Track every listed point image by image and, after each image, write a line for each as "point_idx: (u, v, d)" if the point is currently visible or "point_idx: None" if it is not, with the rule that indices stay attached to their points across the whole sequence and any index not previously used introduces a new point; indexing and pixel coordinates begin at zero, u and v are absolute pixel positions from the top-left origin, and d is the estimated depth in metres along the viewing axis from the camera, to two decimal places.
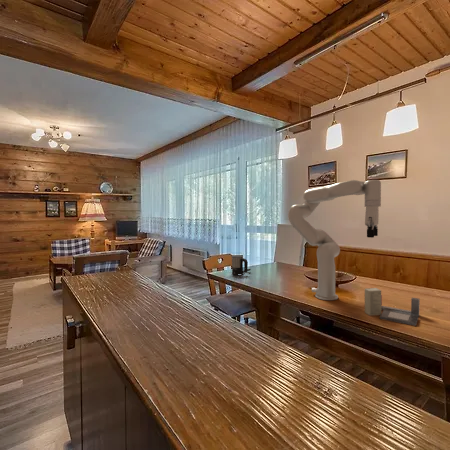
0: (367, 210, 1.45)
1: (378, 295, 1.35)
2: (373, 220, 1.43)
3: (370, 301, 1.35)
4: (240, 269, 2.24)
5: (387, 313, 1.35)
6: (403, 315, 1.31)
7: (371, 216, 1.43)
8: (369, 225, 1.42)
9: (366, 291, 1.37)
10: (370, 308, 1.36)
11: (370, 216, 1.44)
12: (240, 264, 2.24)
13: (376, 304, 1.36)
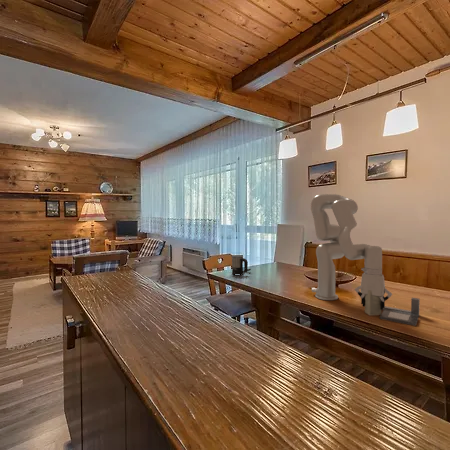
0: (383, 280, 1.33)
1: None
2: None
3: (370, 301, 1.35)
4: (240, 269, 2.24)
5: (387, 313, 1.35)
6: (403, 315, 1.31)
7: (384, 285, 1.35)
8: None
9: None
10: (370, 308, 1.36)
11: (384, 286, 1.34)
12: (240, 264, 2.24)
13: (376, 304, 1.36)
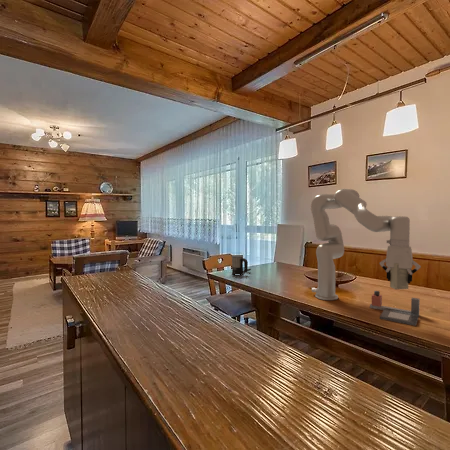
0: (411, 251, 1.25)
1: None
2: None
3: (397, 274, 1.28)
4: (240, 269, 2.25)
5: (387, 313, 1.35)
6: (403, 315, 1.31)
7: (411, 257, 1.27)
8: (417, 269, 1.26)
9: None
10: (397, 282, 1.28)
11: (412, 258, 1.26)
12: (240, 264, 2.24)
13: (403, 278, 1.28)
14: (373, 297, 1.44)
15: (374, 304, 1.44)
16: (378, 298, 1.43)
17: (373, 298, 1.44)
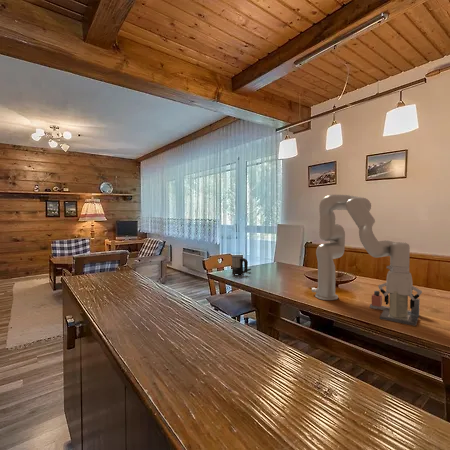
0: (411, 278, 1.26)
1: (405, 296, 1.29)
2: (412, 288, 1.28)
3: (396, 302, 1.29)
4: (240, 269, 2.25)
5: (387, 313, 1.35)
6: None
7: None
8: None
9: None
10: (396, 310, 1.29)
11: None
12: (240, 264, 2.25)
13: (402, 306, 1.29)
14: (373, 297, 1.44)
15: (374, 304, 1.44)
16: (378, 298, 1.43)
17: (373, 298, 1.44)
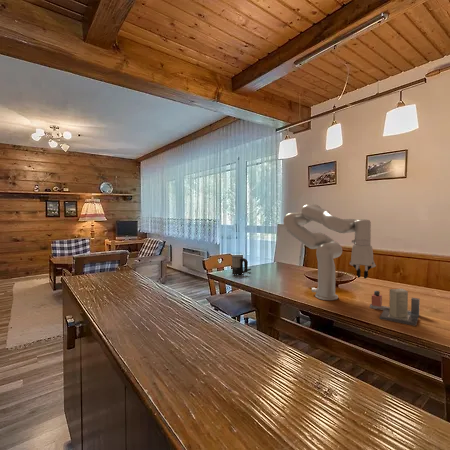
0: (371, 250, 1.44)
1: (405, 296, 1.29)
2: (373, 259, 1.46)
3: (396, 302, 1.29)
4: (240, 269, 2.25)
5: (387, 313, 1.35)
6: None
7: (372, 255, 1.46)
8: None
9: (391, 292, 1.31)
10: (396, 310, 1.29)
11: (372, 257, 1.45)
12: (240, 264, 2.25)
13: (402, 306, 1.29)
14: (373, 297, 1.44)
15: (374, 304, 1.44)
16: (378, 298, 1.43)
17: (373, 298, 1.44)
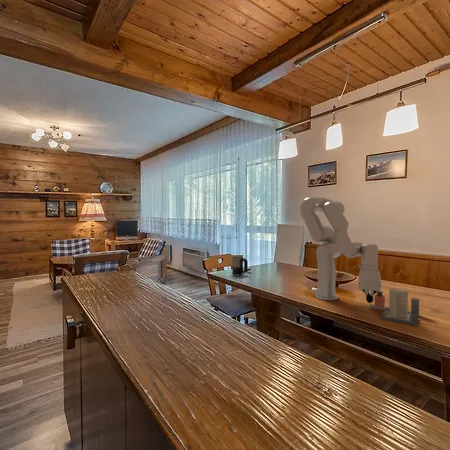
0: (379, 275, 1.42)
1: (405, 296, 1.29)
2: (380, 284, 1.45)
3: (396, 302, 1.29)
4: (240, 269, 2.25)
5: (387, 313, 1.35)
6: None
7: (380, 280, 1.44)
8: (377, 291, 1.45)
9: (391, 292, 1.31)
10: (396, 310, 1.29)
11: (380, 283, 1.44)
12: (240, 264, 2.25)
13: (402, 306, 1.29)
14: (376, 297, 1.43)
15: (377, 305, 1.43)
16: (381, 298, 1.42)
17: (376, 298, 1.43)
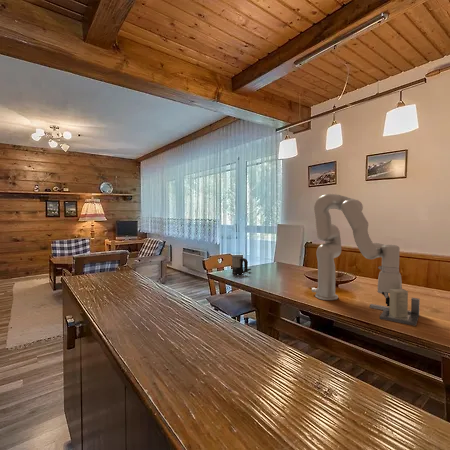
0: (400, 278, 1.37)
1: (405, 296, 1.29)
2: (401, 287, 1.39)
3: (396, 302, 1.29)
4: (240, 269, 2.25)
5: (387, 313, 1.35)
6: None
7: None
8: None
9: (391, 292, 1.31)
10: (396, 310, 1.29)
11: (400, 286, 1.38)
12: (240, 264, 2.25)
13: (402, 306, 1.29)
14: None
15: None
16: None
17: None
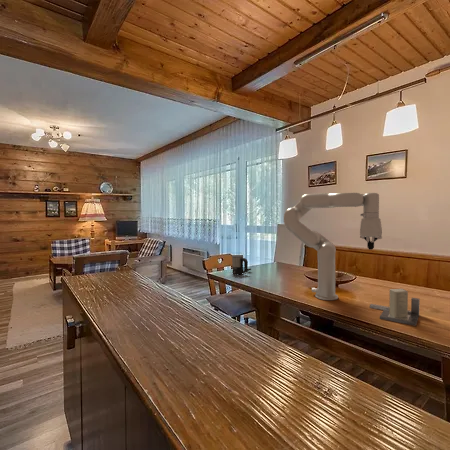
0: (380, 222, 1.50)
1: (405, 296, 1.29)
2: (381, 231, 1.52)
3: (396, 302, 1.29)
4: (240, 269, 2.26)
5: (387, 313, 1.35)
6: None
7: (381, 227, 1.51)
8: None
9: (391, 292, 1.31)
10: (396, 310, 1.29)
11: None
12: (240, 264, 2.26)
13: (402, 306, 1.29)
14: None
15: None
16: None
17: None
